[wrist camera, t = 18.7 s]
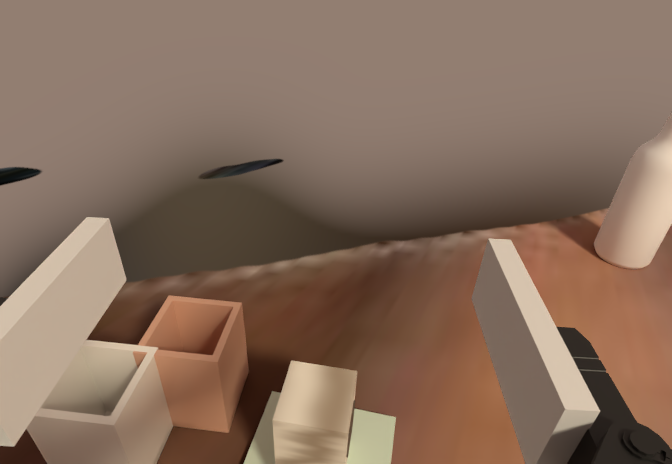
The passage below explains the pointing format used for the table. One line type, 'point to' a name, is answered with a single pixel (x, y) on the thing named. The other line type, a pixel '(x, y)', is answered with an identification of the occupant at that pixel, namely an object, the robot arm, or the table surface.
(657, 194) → the alcohol
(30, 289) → the robot arm
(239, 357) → the terracotta open box
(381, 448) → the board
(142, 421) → the white open box
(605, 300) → the table surface
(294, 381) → the beige rectangular block
